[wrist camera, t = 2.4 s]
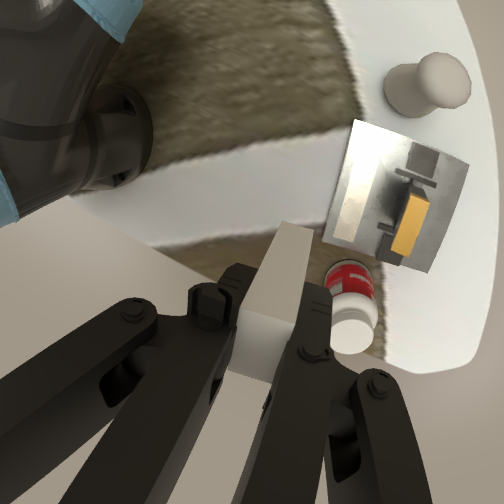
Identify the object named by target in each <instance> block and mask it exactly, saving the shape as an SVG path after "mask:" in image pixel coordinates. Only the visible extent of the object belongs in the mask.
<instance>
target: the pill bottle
mask: <svg viewBox="0 0 504 504" xmlns="http://www.w3.org/2000/svg"><path fill="white" fill-rule="evenodd" d="M324 287H326V288H328V289H329V291H330V293H331V295H332V296H333V307H332V326H331V340H330V347H331V348H332V349H333V350H335V351H337V352H339V353H342V354H356V353H359V352H361V351H363V350H365V349H366V348H368V347H369V345H370V344H371V342H372V340H373V329H374V327H375V326H376V323H377V319H378V311H377V305H376V299H375V293H374V287H373V282H372V277H371V274H370V272H369V270H368V269H367V268H366V267H365V266H364V265H363V264H361V263H359V262H357V261H353V260H346V261H341V262H339V263H337V264H335V265H334V266H332V267H331V268H330V269H329V271H328V272H327V274H326V277H325V283H324Z"/></svg>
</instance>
